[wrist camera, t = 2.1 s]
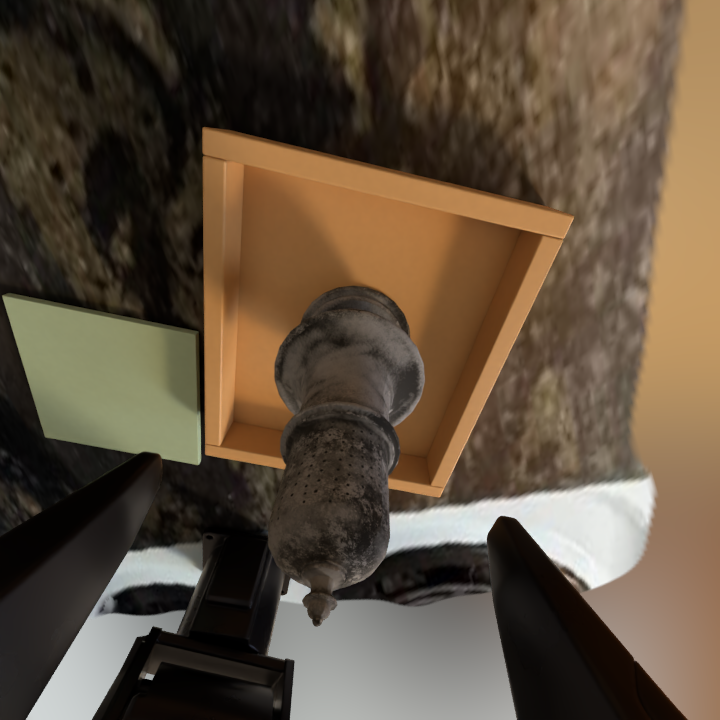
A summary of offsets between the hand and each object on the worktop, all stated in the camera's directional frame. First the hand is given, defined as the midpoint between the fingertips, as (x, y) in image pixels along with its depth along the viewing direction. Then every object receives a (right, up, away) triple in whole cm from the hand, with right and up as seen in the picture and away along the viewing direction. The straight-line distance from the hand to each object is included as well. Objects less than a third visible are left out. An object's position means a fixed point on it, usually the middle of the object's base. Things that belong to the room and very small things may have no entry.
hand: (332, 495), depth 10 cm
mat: (-12, +2, +10) cm, 16 cm away
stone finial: (0, +5, +8) cm, 9 cm away
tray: (+1, +5, +8) cm, 9 cm away
